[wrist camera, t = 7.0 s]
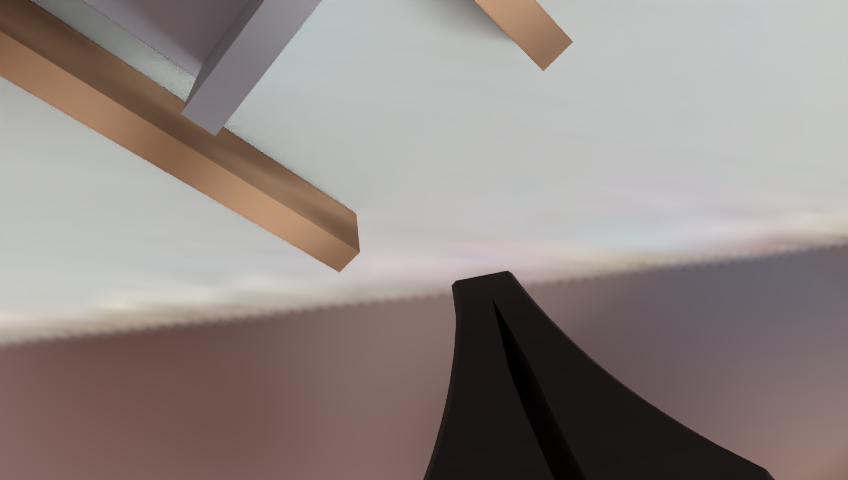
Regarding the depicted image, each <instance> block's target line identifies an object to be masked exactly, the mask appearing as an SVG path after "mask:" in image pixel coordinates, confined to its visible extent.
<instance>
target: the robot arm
mask: <svg viewBox="0 0 848 480" xmlns="http://www.w3.org/2000/svg"><path fill="white" fill-rule="evenodd" d="M452 291H453V298H454V305H455V313H456V333H455V348H454V357H453V364H452V371H451V377H450V384H449V389H448V395H447V399H446V404H445V409H444V413H443V417H442V422H441V425H440V429H439V432H438V436H437V440H436V443H435V447H434V450H433V454H432V456H431V460H430V463H429V466H428V468H427V471H426V474H425V477H424V479H423V480H775V479H774V478H773V477H772V476H771V475H770V474H769V472H768V471H767V470H766V469H764V468H762V467H760V466H758V465H756V464H754V463H752V462H750V461H748V460H746V459H744V458H742V457H741V456H738V455H737V454H734V453H733V452H730V451H729V450H727V449H724V448H723V447H721V446H719V445H717V444H715V443H713V442H711V441H710V440H708V439H706V438H704V437H703V436H701V435H699V434H698V433H696V432H694V431H692V430H691V429H689V428H687V427H686V426H684V425H683V424H681V423H679V422H678V421H676V420H675V419H673V418H672V417H670V416H669V415H667V414H665V413H664V412H662V411H661V410H659V409H658V408H656V407H655V406H653V405H652V404H650V403H648V402H647V401H646V400H644V399H643V398H641V397H640V396H639V395H637V394H636V393H634V392H633V391H632V390H630V389H629V388H628V387H626V386H625V385H624V384H622V383H621V382H620V381H618V380H617V379H616V378H614V377H613V376H612V375H611V374H609V373H608V372H607V371H606V370H605V369H603V368H602V367H601V366H600V365H598V364H597V363H596V362H595V361H594V360H593V359H592V358H590V357H589V356H588V355H587V354H586V353H585V352H584V351H583V350H582V349H581V348H579V347H578V346H577V345H576V344H575V343H574V342H573V341H572V340H571V339H570V338H569V337H568V336H567V335H566V334H565V333H564V332H563V331H562V330H561V329H560V328H559V327H558V326H557V325H556V324H555V323H554V322H553V321H552V320H551V319H550V318H549V317H548V316H547V315H546V314H545V313H544V312H543V310H542V309H541V308H540V307H539V306H538V305H537V304H536V303H535V301H534V300H533V299H532V298H531V297H530V296H529V294H528V293H527V292H526V291H525V290H524V288H523V287H522V286H521V285H520V283H519V282H518V281H517V279H516V278H515V277H514V275H513V274H512V273H510V272H509V271H504V272H499V273H493V274H488V275H483V276H478V277H473V278H468V279H463V280H457V281H455V283H454V284H453V285H452Z"/></svg>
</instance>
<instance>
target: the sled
mask: <svg viewBox="0 0 848 480" xmlns="http://www.w3.org/2000/svg"><path fill="white" fill-rule="evenodd" d="M83 1H84V2H86V3H87V4H89V5H90V6H92V7H93V8H95V9H96V10H97V11H99V12H100V13H102V14H103V15H105V16H106V17H108V18H109V19H111V20H112V21H114V22H115V23H116V24H118V25H119V26H121V27H122V28H124V29H125V30H127V31H128V32H130V33H131V34H133V35H134V36H135V37H137V38H138V39H140V40H141V41H143V42H144V43H146V44H147V45H149V46H150V47H152V48H153V49H154V50H156V51H157V52H159V53H160V54H162V55H163V56H165V57H166V58H168V59H169V60H171V61H172V62H173V63H175V64H176V65H178V66H179V67H181V68H182V69H184V70H185V71H187V72H188V73H190V74H191V75H192V76H194V77H195V78H196V80H195V83H194V85H193V87H192V89H191V92H190V94H189V96H188V98H187V101H186V103H185V105H184V107H183V110H182V112H181V114H182V115H183V116H185V117H186V118H188V119H189V120H191V121H193V122H194V123H196V124H197V125H199V126H200V127H202V128H203V129H205V130H207V131H208V132H210V133H211V134H213V135H214V136H216V135H217V133H218V132H219V131H220V129H221V128H222V127H223V126H224V124H225V123H226V122H227V120H228V119H229V118H230V117H231V115H232V114H233V113H234V112H235V110H236V109H237V108H238V106H239V105H240V104H241V103H242V101H243V100H244V99H245V98H246V96H247V95H248V94H249V92H250V91H251V90H252V89H253V87H254V86H255V85H256V83H257V82H258V81H259V80H260V78H261V77H262V76H263V75H264V73H265V72H266V71H267V69H268V68H269V67H270V66H271V64H272V63H273V62H274V61H275V59H276V58H277V57H278V55H279V54H280V53H281V52H282V50H283V49H284V48H285V46H286V45H287V44H288V43H289V41H290V40H291V39H292V38H293V36H294V35H295V34H296V32H297V31H298V30H299V29H300V27H301V26H302V25H303V23H304V22H305V21H306V20H307V18H308V17H309V16H310V15H311V13H312V12H313V11H314V9H315V8H316V7H317V6H318V4H319V3H320V2H321V1H322V0H83Z"/></svg>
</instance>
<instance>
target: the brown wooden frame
mask: <svg viewBox="0 0 848 480" xmlns="http://www.w3.org/2000/svg"><path fill="white" fill-rule="evenodd" d="M474 1H475V2H476V3H477V4H478V5H479V6H480V7H481V8H482V9H483V10H484V11H485V12H486V13H487V14H488V15H489V16H490V17H491V18H492V19H493V20H494V21H495V22H496V23H497V24H498V25H499V26H500V27H501V28H502V29H503V30H504V31H505V32H506V33H507V34H508V35H509V36H510V37H511V38H512V39H513V40H514V41H515V42H516V44H517V45H518V46H519V47H520V48H521V49H522V50H523V51H524V52H525V53H526V54H527V55H528V56H529V57H530V58H531V59H532V60H533V61H534V62H535V63H536V64H537V65H538V66H539V67H540V68H541V69H542V70H543V71H544V70H545V69H546V68H547V67H548V66H549V65H550V64H551V63H552V62H553V61H554V60H555V59H556V58H557V57H558V56H559V55H560V54H561V53H562V52H563V51H564V50H565V49H566V48H567V47H568V46H569V45H570V44H571V43H572V40H571V39H570V38H569V37H568V36H567V35H566V34H565V33H564V32H563V30H562V29H561V28H560V27H559V26H558V25H557V24H556V23H555V22H554V20H553V19H552V18H551V17H550V16H549V15H548V14H547V13H546V12H545V10H544V9H543V8H542V7H541V6H540V5H539V4H538V3H537V2H536V0H474ZM0 76H2V77H4V78H5V79H7V80H9V81H10V82H12V83H14V84H16V85H17V86H19V87H21V88H22V89H24V90H26V91H28V92H29V93H31V94H33V95H35V96H36V97H38V98H40V99H41V100H43V101H45V102H47V103H48V104H50V105H52V106H54V107H55V108H57V109H59V110H60V111H62V112H64V113H66V114H67V115H69V116H71V117H73V118H74V119H76V120H78V121H79V122H81V123H83V124H85V125H86V126H88V127H90V128H91V129H93V130H95V131H97V132H98V133H100V134H102V135H104V136H105V137H107V138H109V139H110V140H112V141H114V142H116V143H117V144H119V145H121V146H123V147H124V148H126V149H128V150H129V151H131V152H133V153H135V154H136V155H138V156H140V157H141V158H143V159H145V160H147V161H148V162H150V163H152V164H154V165H155V166H157V167H159V168H160V169H162V170H164V171H166V172H167V173H169V174H171V175H173V176H174V177H176V178H178V179H179V180H181V181H183V182H185V183H186V184H188V185H190V186H192V187H193V188H195V189H197V190H198V191H200V192H202V193H204V194H205V195H207V196H209V197H210V198H212V199H214V200H216V201H217V202H219V203H221V204H223V205H224V206H226V207H228V208H229V209H231V210H233V211H235V212H236V213H238V214H240V215H242V216H243V217H245V218H247V219H248V220H250V221H252V222H254V223H255V224H257V225H259V226H260V227H262V228H264V229H266V230H267V231H269V232H271V233H273V234H274V235H276V236H278V237H279V238H281V239H283V240H285V241H286V242H288V243H290V244H292V245H293V246H295V247H297V248H298V249H300V250H302V251H304V252H305V253H307V254H309V255H311V256H312V257H314V258H316V259H317V260H319V261H321V262H323V263H324V264H326V265H328V266H329V267H331V268H333V269H335V270H336V271H338V272H340V271H341V270H342V269H343V268H344V267H345V266H346V265H347V264H348V263H349V262H350V261H351V260H352V259H353V258H354V257H355V256H356V255H357V254H358V253H359V252H360V249H359V238H358V227H357V216H356V214H355V213H354V212H352V211H351V210H349V209H348V208H346V207H344V206H343V205H341V204H340V203H338V202H337V201H335V200H334V199H332V198H331V197H329V196H328V195H326V194H325V193H323V192H322V191H320V190H318V189H317V188H315V187H314V186H312V185H311V184H309V183H308V182H306V181H305V180H303V179H302V178H300V177H299V176H297V175H296V174H294V173H293V172H291V171H289V170H288V169H286V168H285V167H283V166H282V165H280V164H279V163H277V162H276V161H274V160H273V159H271V158H270V157H268V156H267V155H265V154H263V153H262V152H260V151H259V150H257V149H256V148H254V147H253V146H251V145H250V144H248V143H247V142H245V141H244V140H242V139H241V138H239V137H238V136H236V135H234V134H233V133H231V132H230V131H228V130H227V129H225V128H224V127H222V128H221V129H220V131H219V132H218V133H217V135H216V136H214V135H213V134H211V133H210V132H208V131H207V130H205V129H203V128H202V127H200V126H199V125H197V124H196V123H194V122H193V121H191V120H189V119H188V118H186V117H185V116H183V115H182V114H181V112H182V110H183V107H184V105H185V103H186V102H184V101H183V100H181V99H179V98H178V97H176V96H175V95H173V94H172V93H170V92H169V91H167V90H166V89H164V88H163V87H161V86H160V85H158V84H157V83H155V82H153V81H152V80H150V79H149V78H147V77H146V76H144V75H143V74H141V73H140V72H138V71H137V70H135V69H134V68H132V67H131V66H129V65H128V64H126V63H124V62H123V61H121V60H120V59H118V58H117V57H115V56H114V55H112V54H111V53H109V52H108V51H106V50H105V49H103V48H102V47H100V46H98V45H97V44H95V43H94V42H92V41H91V40H89V39H88V38H86V37H85V36H83V35H82V34H80V33H79V32H77V31H76V30H74V29H73V28H71V27H69V26H68V25H66V24H65V23H63V22H62V21H60V20H59V19H57V18H56V17H54V16H53V15H51V14H50V13H48V12H47V11H45V10H43V9H42V8H40V7H39V6H37V5H36V4H34V3H33V2H31V1H30V0H0Z"/></svg>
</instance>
